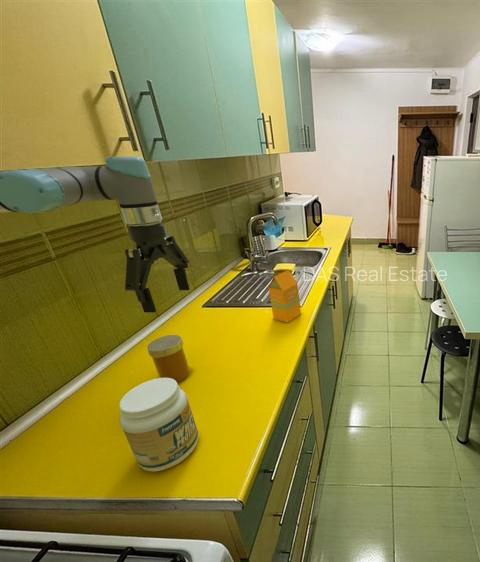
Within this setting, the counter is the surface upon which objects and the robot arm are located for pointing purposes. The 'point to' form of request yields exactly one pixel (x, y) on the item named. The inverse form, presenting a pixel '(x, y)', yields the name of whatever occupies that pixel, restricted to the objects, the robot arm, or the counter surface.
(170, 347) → the lid
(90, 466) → the counter surface
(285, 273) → the orange juice
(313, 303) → the counter surface
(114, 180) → the robot arm
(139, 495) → the counter surface
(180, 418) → the supplement tub
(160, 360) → the jar
